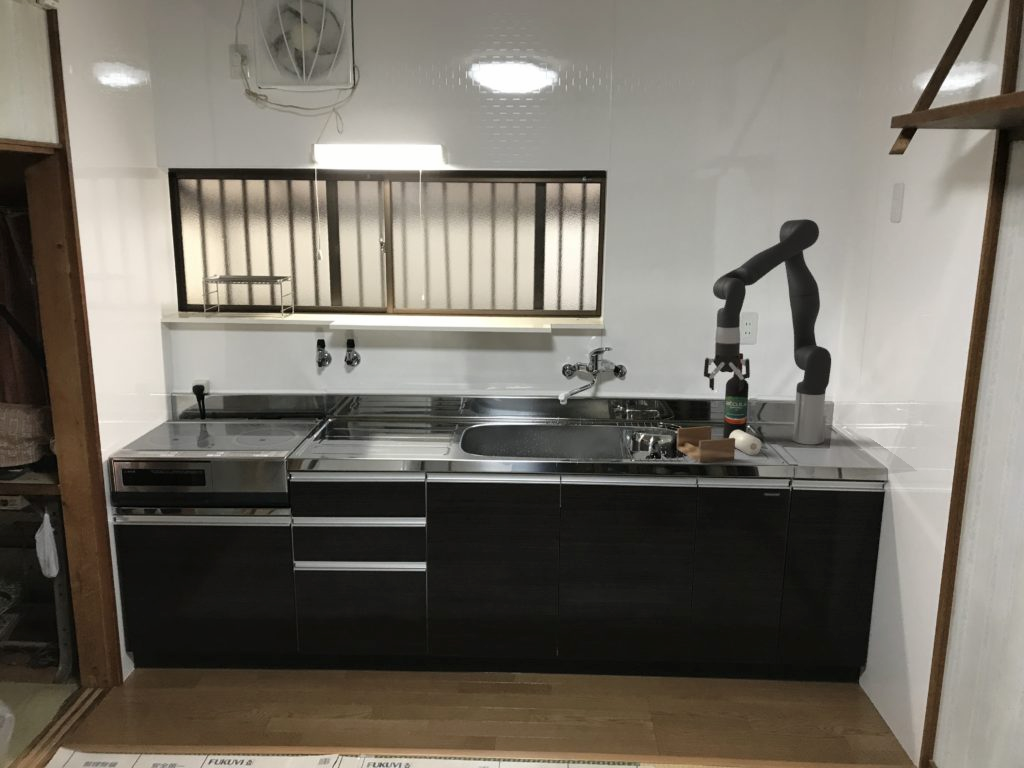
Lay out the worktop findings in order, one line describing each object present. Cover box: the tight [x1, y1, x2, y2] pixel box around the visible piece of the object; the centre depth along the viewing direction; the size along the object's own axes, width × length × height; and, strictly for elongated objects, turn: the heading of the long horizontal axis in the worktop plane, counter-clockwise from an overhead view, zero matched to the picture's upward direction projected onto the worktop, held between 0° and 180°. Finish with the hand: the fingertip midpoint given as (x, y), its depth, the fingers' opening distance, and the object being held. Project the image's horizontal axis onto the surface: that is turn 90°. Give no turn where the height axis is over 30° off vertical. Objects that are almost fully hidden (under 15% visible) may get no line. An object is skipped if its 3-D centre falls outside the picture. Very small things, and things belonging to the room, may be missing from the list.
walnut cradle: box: [676, 425, 736, 463], centre depth 245 cm, size 16×12×7 cm
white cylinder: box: [729, 430, 762, 456], centre depth 248 cm, size 10×6×6 cm, turn 14°
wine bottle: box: [722, 353, 750, 439], centre depth 260 cm, size 8×8×30 cm
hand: (726, 390), depth 244 cm, fingers open, 8 cm apart
